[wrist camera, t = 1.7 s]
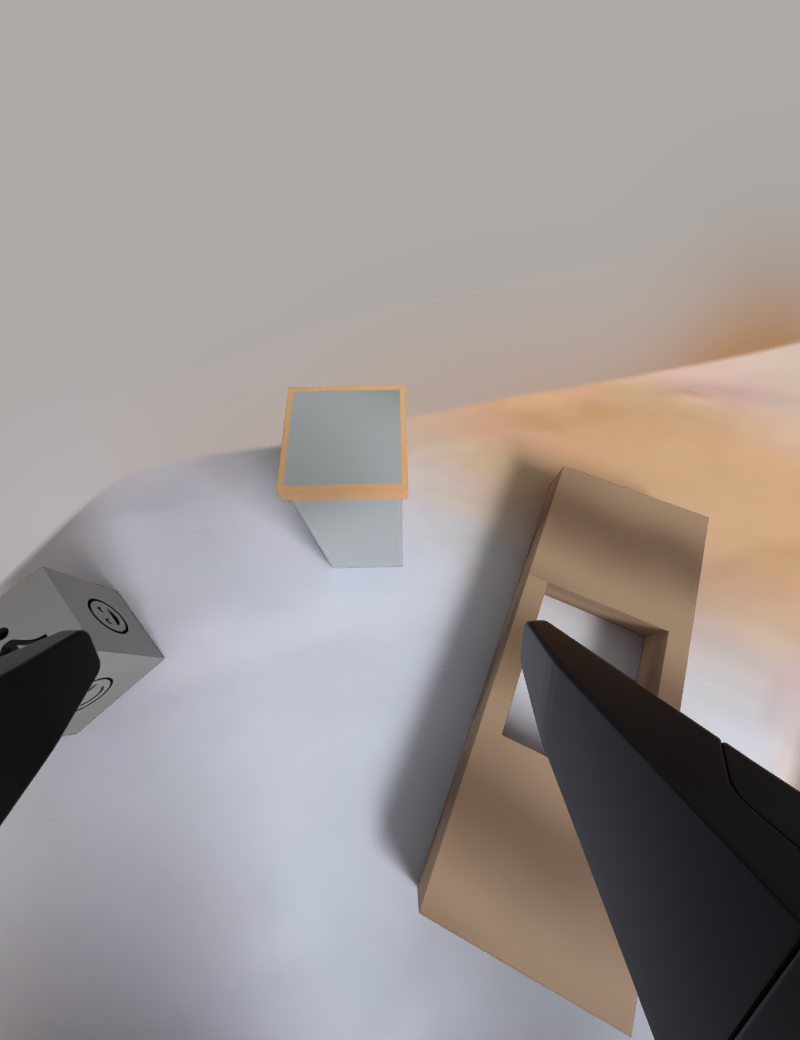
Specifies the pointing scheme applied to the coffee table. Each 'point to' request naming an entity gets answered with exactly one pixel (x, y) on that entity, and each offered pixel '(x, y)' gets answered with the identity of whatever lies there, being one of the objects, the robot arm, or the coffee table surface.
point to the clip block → (347, 470)
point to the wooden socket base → (528, 774)
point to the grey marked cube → (80, 606)
